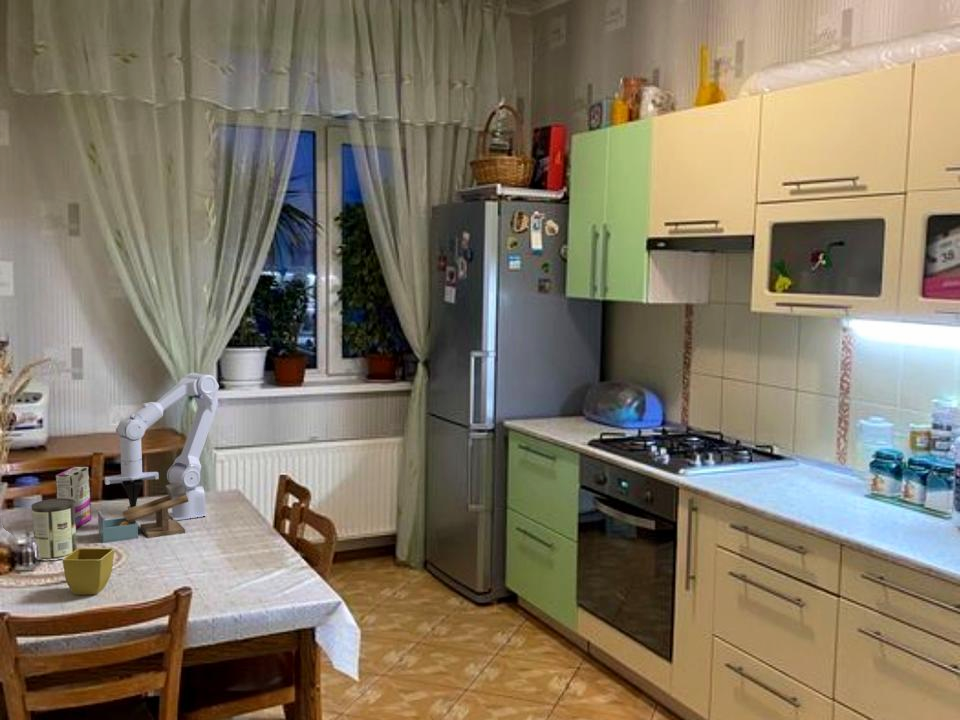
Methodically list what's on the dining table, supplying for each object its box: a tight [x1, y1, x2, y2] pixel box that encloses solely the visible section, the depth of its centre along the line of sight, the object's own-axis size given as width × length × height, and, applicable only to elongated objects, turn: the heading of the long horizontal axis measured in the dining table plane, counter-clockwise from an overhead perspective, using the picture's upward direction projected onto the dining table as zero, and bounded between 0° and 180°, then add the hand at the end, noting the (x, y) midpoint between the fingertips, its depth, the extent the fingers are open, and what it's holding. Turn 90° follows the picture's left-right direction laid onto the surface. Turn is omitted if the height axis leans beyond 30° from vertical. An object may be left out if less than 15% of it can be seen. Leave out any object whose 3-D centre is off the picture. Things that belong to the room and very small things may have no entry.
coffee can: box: [31, 498, 78, 560], centre depth 233 cm, size 10×10×14 cm
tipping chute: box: [122, 481, 188, 523], centre depth 257 cm, size 17×12×5 cm
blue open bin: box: [97, 510, 139, 544], centre depth 250 cm, size 9×9×7 cm
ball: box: [119, 521, 131, 526], centre depth 251 cm, size 4×4×4 cm
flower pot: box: [62, 547, 115, 596], centre depth 206 cm, size 9×9×9 cm
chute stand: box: [139, 507, 186, 539], centre depth 256 cm, size 10×12×8 cm
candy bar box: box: [55, 466, 92, 530], centre depth 261 cm, size 11×5×16 cm, turn 179°
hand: (132, 505), depth 259 cm, fingers closed
